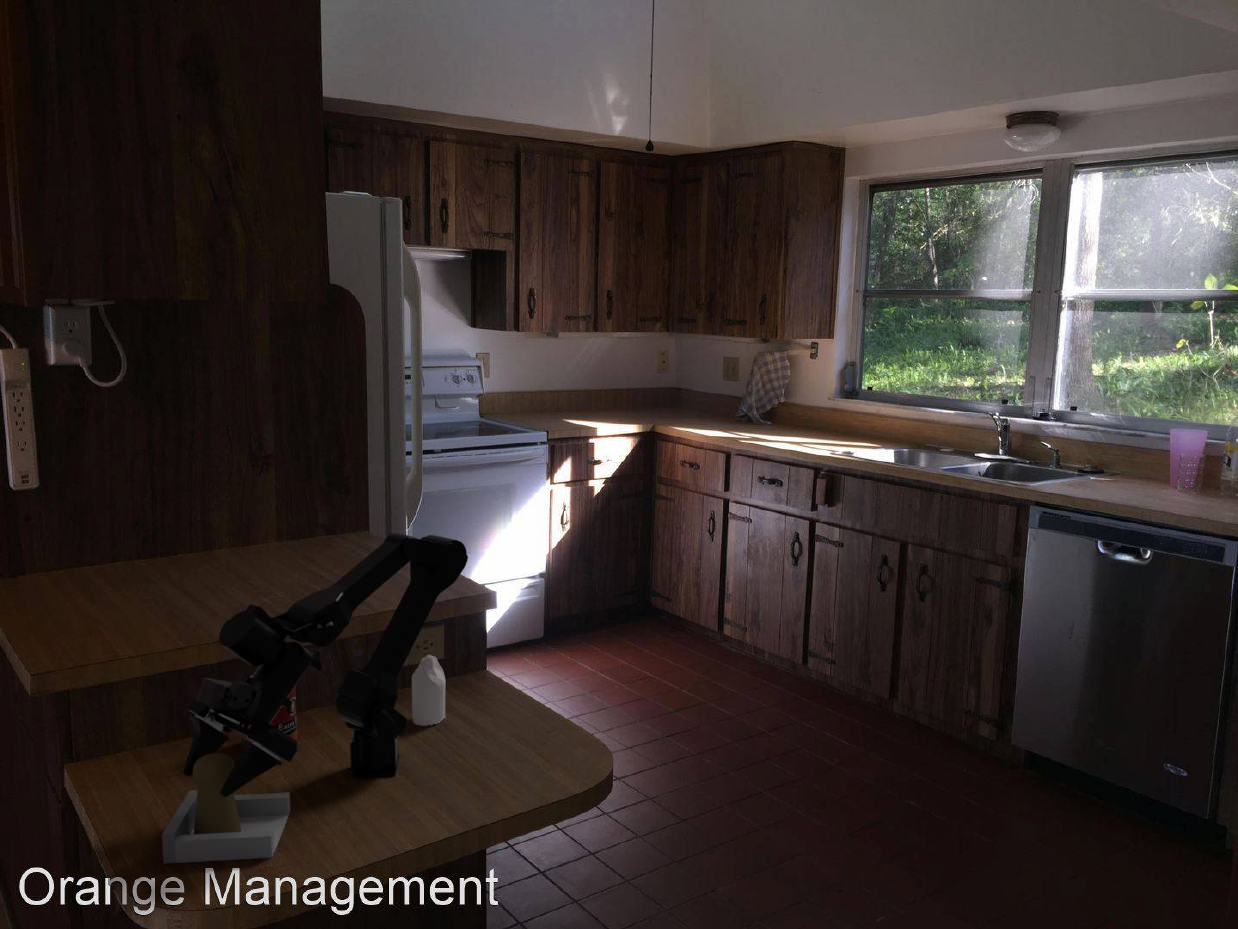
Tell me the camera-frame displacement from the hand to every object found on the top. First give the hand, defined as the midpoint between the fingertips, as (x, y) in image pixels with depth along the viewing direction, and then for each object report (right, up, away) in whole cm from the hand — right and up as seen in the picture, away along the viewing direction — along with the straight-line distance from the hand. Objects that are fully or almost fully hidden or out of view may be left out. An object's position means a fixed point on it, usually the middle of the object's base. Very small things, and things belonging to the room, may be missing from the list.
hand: (203, 785), depth 134 cm
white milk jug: (+22, -2, +42) cm, 47 cm away
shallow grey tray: (+3, -8, +3) cm, 9 cm away
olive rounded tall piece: (+1, -8, +2) cm, 8 cm away
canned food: (-2, -3, +32) cm, 32 cm away
